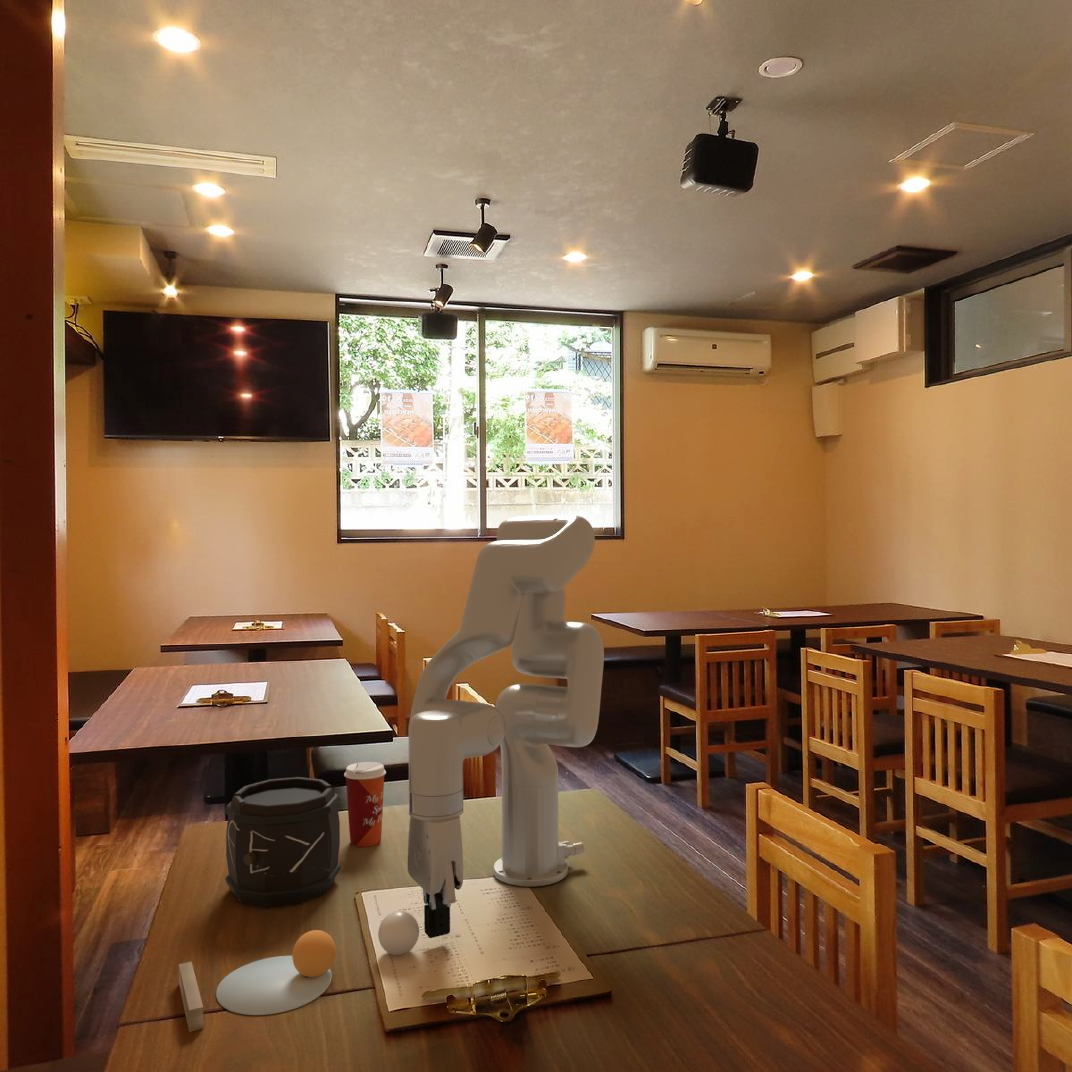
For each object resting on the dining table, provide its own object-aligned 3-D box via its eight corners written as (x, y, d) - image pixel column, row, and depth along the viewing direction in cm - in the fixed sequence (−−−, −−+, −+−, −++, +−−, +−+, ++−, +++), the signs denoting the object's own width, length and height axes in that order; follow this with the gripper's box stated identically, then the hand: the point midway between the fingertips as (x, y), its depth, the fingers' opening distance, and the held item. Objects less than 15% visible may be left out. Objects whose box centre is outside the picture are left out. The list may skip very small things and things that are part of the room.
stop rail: (191, 981, 109) (191, 961, 109) (203, 1028, 99) (203, 1006, 99) (179, 984, 109) (178, 964, 109) (189, 1032, 98) (189, 1010, 98)
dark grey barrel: (198, 903, 133) (197, 802, 133) (271, 861, 150) (270, 771, 150) (295, 920, 127) (294, 814, 127) (360, 874, 144) (359, 781, 144)
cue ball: (379, 903, 118) (369, 944, 117) (390, 918, 113) (380, 961, 112) (416, 906, 120) (406, 946, 120) (428, 920, 115) (419, 963, 115)
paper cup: (377, 850, 154) (376, 773, 154) (337, 847, 156) (337, 771, 156) (393, 835, 162) (392, 761, 162) (355, 832, 164) (354, 759, 164)
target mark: (317, 948, 118) (317, 946, 118) (344, 996, 106) (344, 994, 106) (209, 973, 111) (209, 971, 111) (225, 1027, 99) (225, 1025, 99)
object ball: (314, 914, 114) (279, 945, 111) (324, 931, 109) (288, 964, 107) (337, 943, 115) (304, 974, 113) (349, 960, 110) (314, 994, 108)
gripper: (393, 791, 124) (394, 918, 124) (430, 822, 110) (431, 963, 110) (441, 784, 127) (442, 907, 127) (483, 812, 114) (484, 950, 114)
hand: (437, 933), depth 119 cm, fingers closed
